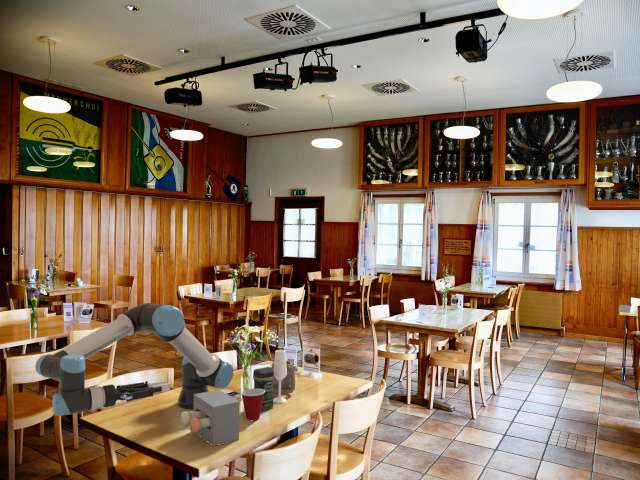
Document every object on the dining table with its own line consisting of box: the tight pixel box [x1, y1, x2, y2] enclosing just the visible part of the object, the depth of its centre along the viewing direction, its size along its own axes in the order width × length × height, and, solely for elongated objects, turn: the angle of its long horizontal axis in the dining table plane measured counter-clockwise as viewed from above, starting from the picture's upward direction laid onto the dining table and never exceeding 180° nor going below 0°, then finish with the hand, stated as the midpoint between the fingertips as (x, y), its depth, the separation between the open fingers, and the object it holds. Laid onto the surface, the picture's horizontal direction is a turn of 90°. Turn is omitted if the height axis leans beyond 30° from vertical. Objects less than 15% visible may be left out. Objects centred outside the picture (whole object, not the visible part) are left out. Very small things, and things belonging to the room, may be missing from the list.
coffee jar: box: [252, 366, 274, 412], centre depth 230 cm, size 10×8×19 cm
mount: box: [193, 389, 241, 447], centre depth 198 cm, size 18×11×15 cm, turn 38°
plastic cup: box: [240, 388, 265, 422], centre depth 217 cm, size 11×11×12 cm
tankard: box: [271, 360, 299, 395], centre depth 255 cm, size 20×13×15 cm, turn 33°
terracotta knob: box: [188, 417, 211, 434], centre depth 191 cm, size 5×11×5 cm, turn 128°
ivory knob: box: [179, 410, 201, 427], centre depth 198 cm, size 5×11×5 cm, turn 128°
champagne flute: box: [273, 349, 287, 404], centre depth 241 cm, size 7×7×24 cm
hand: (167, 385), depth 190 cm, fingers open, 3 cm apart
